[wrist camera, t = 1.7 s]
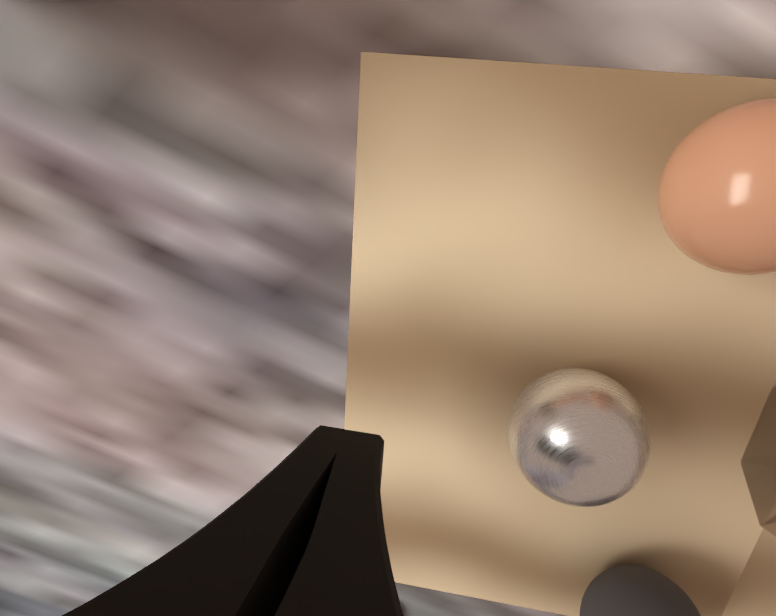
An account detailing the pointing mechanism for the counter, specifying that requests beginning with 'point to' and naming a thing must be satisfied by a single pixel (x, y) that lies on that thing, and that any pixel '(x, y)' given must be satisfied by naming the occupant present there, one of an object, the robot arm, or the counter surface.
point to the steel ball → (579, 437)
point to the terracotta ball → (725, 191)
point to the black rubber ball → (635, 594)
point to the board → (552, 330)
